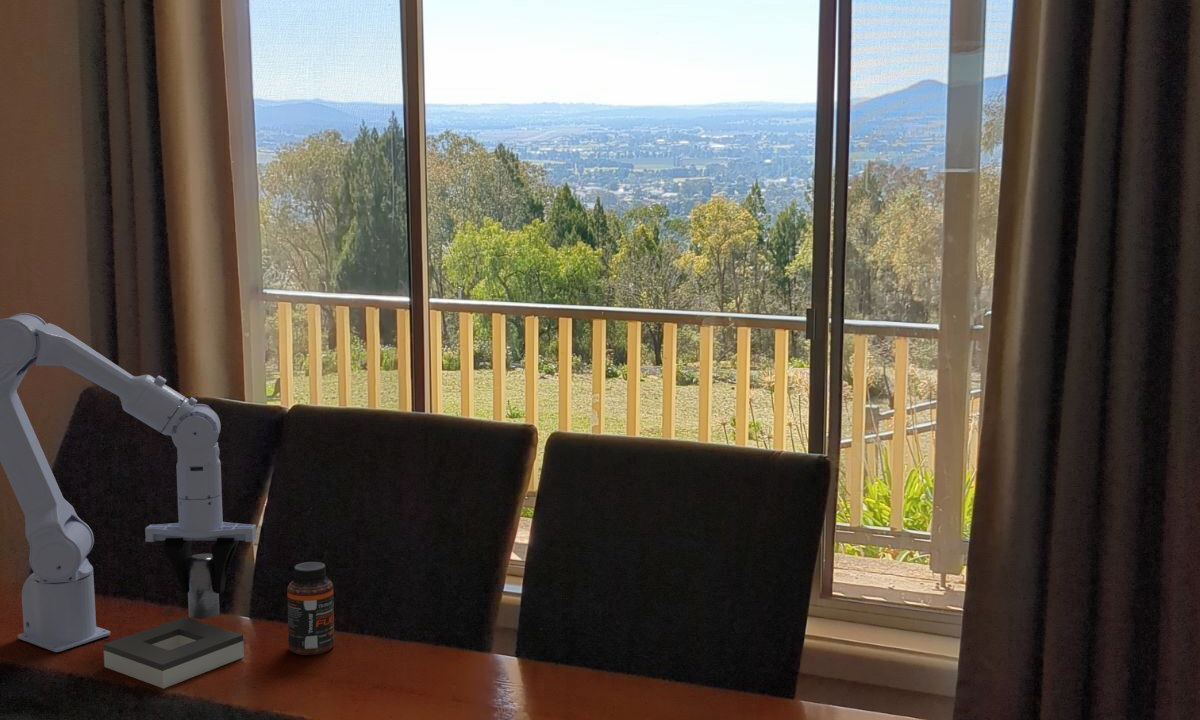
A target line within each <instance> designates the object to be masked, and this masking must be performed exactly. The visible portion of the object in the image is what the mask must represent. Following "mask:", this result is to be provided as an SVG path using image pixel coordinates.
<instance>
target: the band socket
mask: <svg viewBox="0 0 1200 720" xmlns="http://www.w3.org/2000/svg"><path fill="white" fill-rule="evenodd" d="M102 646H103V663H104V668H106V669H109V670H112V671H114V672H117V673H121V674H123V675H126V676H128V677H131V678H134V679H137V680H139V681H141V682H145V683H147V684H150V685H153V686H155V687H158V688H160V689H166V688H169V687H171V686H174V685H177V684H179V683H182V682H184V681H186V680H189V679H192V678H193V677H196V676H199V675H202V674H204V673H206V672H210V671H212V670H214V669H218V668H219V667H222V666H224V665H225V666H226V665H227V664H230V663H233V662H235V661H238V660H241V659H242V658H243V659H244V657H245V653H244V652H245V651H244V650H245V649H244V648H245V647H244V634H241V633H238V632H235V631H231V630H228V629H226V628H222V627H220V626H219V627H218V626H214V625H212V624H209V623H206V622H204V621H203V622H202V621H200V620H197V619H194V618H191V617H186V616H183V617H180V618H177V619H174V620H170V621H168V622H165V623H162V624H159V625H157V626H153V627H150V628H147V629H145V630H141V631H138V632H135V633H133V634H129V635H127V636H124V637H123V636H122V637H121V638H118V639H115V640H112V641H109V642H105V643H103V645H102Z"/></svg>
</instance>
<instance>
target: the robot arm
mask: <svg viewBox="0 0 1200 720" xmlns="http://www.w3.org/2000/svg"><path fill="white" fill-rule="evenodd" d="M34 363H35V366H36V367H39V366H40V367H56V366H57V367H65V368H67V369H69V370H70V371H72V372H74V373H76V374H77V375H80V376H81V377H84V378H85V379H87V380H88V381H91V382H92V383H93V384H95V385H98V386H99V387H101V388H103V389H104V390H107V391H109V392H111V393H112V394H114V395H116V396H117V397H119V400H120V402H121V403H120V404H121V406H122V410H123V412H126V413H127V414H129V415H131V416H132V417H134V418H135V419H138V420H139V421H141V422H142V423H144V424H146V425H147V426H149V427H150V428H152V429H154V430H155V431H157V432H158V433H161V434H163V435H164V436H171V440H172V443H173V445H174V446H175V448H176V450H177V452H176V454H177V463H176V466H175V467H176V487H177V488H176V489H177V491H176V492H177V493H176V494H177V512H178V513H177V514H178V518H177V519H178V522H174V523H164V524H163V523H161V524H160V523H159V524H157V523H156V524H149V525H147V526H146V527H145V528H144V533H145V542H146V543H153V542H155V541H165V542H164V545H163V546H162V552H163V554H164V556H165V557H166V558H167V560H168V561H169V563H170V565H171V567H172V569H173V571H174V573H175V576H176V578H177V582H178V584H179V588H180V592H181V594H188V581H187V558H188V557H190V556H192V545H193V541H216V542H215V543H213V544H212V545H211V546H210V551H211V554H212V556H213V562H214V570H215V593H219V594H222V592H224V590H225V589H226V580H227V576H228V572H229V569H230V565H231V561H232V560H233V556H234V554H235V552H236V549H237V547H238V545H239V542H240V541H244V542H245V543H249V542H250V543H253V542H254V541H255V540H256V539H257V525H256V524H251V523H250V524H249V523H236V522H230V521H229V522H226V521H223V519H224V518H223V494H222V493H223V492H222V491H223V490H222V489H223V487H222V467H221V465H222V464H221V460H220V451H221V450H220V447H219V442H218V439H219V436H220V433H221V427H222V424H221V421H220V417H219V415H218V414H217V412H216V411H214V410H213V409H212V408H211V407H210V405H208V404H204V403H198V400H197V398H194V397H193V396H191V397H190V398H188V397H186V396H184V395H183V394H181V393H180V392H178V391H176V390H175V389H173V388H172V387H170V386H168V385H166V383H167V379H166V378H165V377H163V376H161V375H157V376H156V378H155V377H154V376H152V375H150V374H143V375H138V376H135V375H133V374H131V373H129V372H128V371H127V370H125V369H123V368H122V367H121V366H119V365H118V364H115V363H114V362H113V361H112V360H110V359H109V358H107V357H105V355H102V354H101V353H100V352H97V351H96V350H95V349H93V347H91V346H89V345H88V344H86V343H84V342H83V341H81V340H80V339H78V338H77V337H76V336H74V335H72V334H71V333H69V332H68V331H66V330H64V329H63V328H61V326H60V327H59V326H58V325H55V324H53V323H51V322H49V323H46V322H45V320H44V319H43V318H41V317H40V316H38V315H36V314H33V313H27V312H20V313H16V314H13V315H11V316H9V317H5V318H1V319H0V464H1V467H2V469H3V471H4V473H5V475H6V477H7V480H8V482H9V484H10V486H11V489H12V490H13V493H14V495H15V498H16V500H17V502H18V504H19V506H20V509H21V511H22V513H23V515H24V523H25V528H24V530H25V532H24V533H25V538H26V539H27V542H28V546H29V557H28V559H29V560H28V562H29V565H30V568H31V570H32V571H33V573H31V574H30V575H29V576H28V577H27V578H26V580H25V581H24V583H23V586H22V589H21V606H22V607H21V608H22V620H23V622H22V623H23V632H22V633H18V634H17V638H18V639H19V640H22V641H24V642H26V643H27V642H28V643H29V644H32V645H35V646H38V647H40V648H43V649H46V650H49V651H51V652H54V653H59V652H63V651H66V650H68V649H72V648H74V647H78V646H82V645H83V644H87V643H90V642H93V641H96V640H98V639H101V638H105V637H108V636H110V635H111V631H110V630H108V629H105V628H102V627H98V626H97V619H96V617H97V616H96V615H97V614H96V601H95V600H96V598H95V582H94V581H95V579H94V566H93V565H92V564H91V563H90V561H89V559H88V558H87V556H88V555H89V554H90V552H91V551H92V549H93V546H94V544H95V537H94V533H93V530H92V529H91V528H90V526H89V525H88V524H87V523H86V522H84V521H83V519H81V518H80V517H79V516H78V514H77V512H76V510H75V508H74V506H73V505H72V504H71V503H69V501H68V500H66V499H65V498H64V496H63V493H62V491H61V489H60V487H59V485H58V482H57V480H56V477H55V476H54V473H53V471H52V469H51V467H50V464H49V462H48V459H47V457H46V455H45V453H44V450H43V449H42V446H41V444H40V441H39V439H38V437H37V435H36V432H35V431H34V427H33V426H32V424H31V421H30V419H29V417H28V414H27V412H26V410H25V408H24V406H23V403H22V401H21V398H20V396H19V394H18V389H19V386H20V384H21V382H22V381H23V379H24V378H25V376H26V374H27V372H28V369H29V368H30V367H31V366H32V365H34Z"/></svg>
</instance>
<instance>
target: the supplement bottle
mask: <svg viewBox="0 0 1200 720" xmlns="http://www.w3.org/2000/svg"><path fill="white" fill-rule="evenodd" d="M293 571H294V572H293V576H294V579H293V580H292V581H291V582H289V584H288V586H287V587H286V588H287V589H286V590H287V596H286V597H287V632H288V633H287V635H288V637H287V639H288V649H289V651H290V652H292V653H293V654H295V655H301V656H315V655H320V654H325V653H326V652H328V651H330V650H331V649H332V648H333V647H334V646H335V610H334V605H335V604H334V597H335V596H334V594H335V593H334V584H333V582H332V580H331V579H329V577H327V576H326V574H327V570H326V565H325V563H323V562H320V561H319V562H317V561H307V562H302V563H301V562H300V563H297V564H296V565H294V567H293Z"/></svg>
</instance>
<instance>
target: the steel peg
mask: <svg viewBox="0 0 1200 720" xmlns="http://www.w3.org/2000/svg"><path fill="white" fill-rule="evenodd" d="M187 581H188V593H187V598H188V599H187V600H188V601H187V602H188V603H187V604H188V606H187V607H188V618H190V619H194V620H204V619H209V618H211V619H212V618H213V617H216V616H218V615H219V614H220V596H219V595H220V593H215V570H214V562H213V556H212V553H197V554H191V556H190V557H188V558H187Z"/></svg>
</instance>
